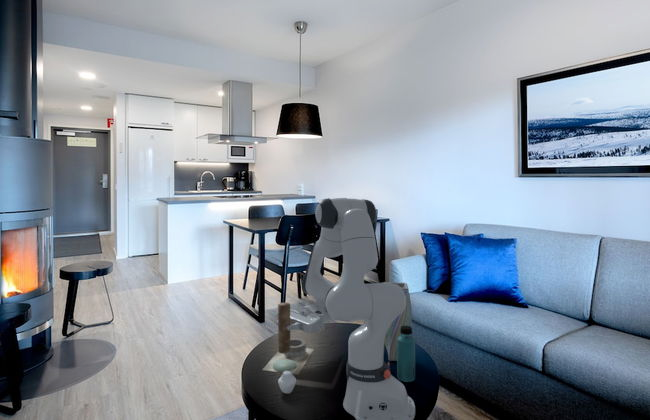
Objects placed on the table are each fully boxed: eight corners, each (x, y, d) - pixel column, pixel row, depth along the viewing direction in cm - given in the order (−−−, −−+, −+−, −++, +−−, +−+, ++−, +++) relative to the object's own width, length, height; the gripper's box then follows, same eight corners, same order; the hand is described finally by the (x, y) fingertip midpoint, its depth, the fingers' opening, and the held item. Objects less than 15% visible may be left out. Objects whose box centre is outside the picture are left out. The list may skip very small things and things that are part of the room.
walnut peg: (292, 349, 145) (291, 303, 143) (288, 354, 140) (287, 306, 139) (280, 347, 146) (280, 302, 144) (276, 352, 141) (276, 305, 140)
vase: (413, 366, 146) (414, 290, 144) (378, 364, 147) (378, 289, 145) (409, 351, 159) (410, 281, 157) (377, 349, 161) (378, 280, 159)
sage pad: (299, 361, 146) (299, 360, 146) (292, 372, 138) (292, 371, 138) (277, 359, 149) (277, 358, 148) (269, 370, 140) (269, 368, 140)
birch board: (314, 352, 158) (314, 339, 158) (298, 378, 137) (298, 363, 136) (282, 349, 161) (282, 336, 161) (262, 373, 140) (262, 359, 140)
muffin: (289, 384, 133) (288, 365, 132) (300, 391, 128) (299, 371, 128) (274, 390, 128) (274, 370, 128) (285, 398, 124) (285, 377, 123)
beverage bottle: (415, 387, 131) (416, 331, 129) (396, 385, 132) (396, 329, 131) (414, 378, 137) (415, 324, 136) (396, 376, 138) (397, 322, 137)
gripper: (292, 303, 159) (265, 311, 149) (327, 315, 144) (300, 324, 135) (292, 317, 159) (265, 326, 149) (327, 331, 145) (300, 342, 135)
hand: (282, 325), depth 142 cm, fingers closed on walnut peg, 4 cm apart
